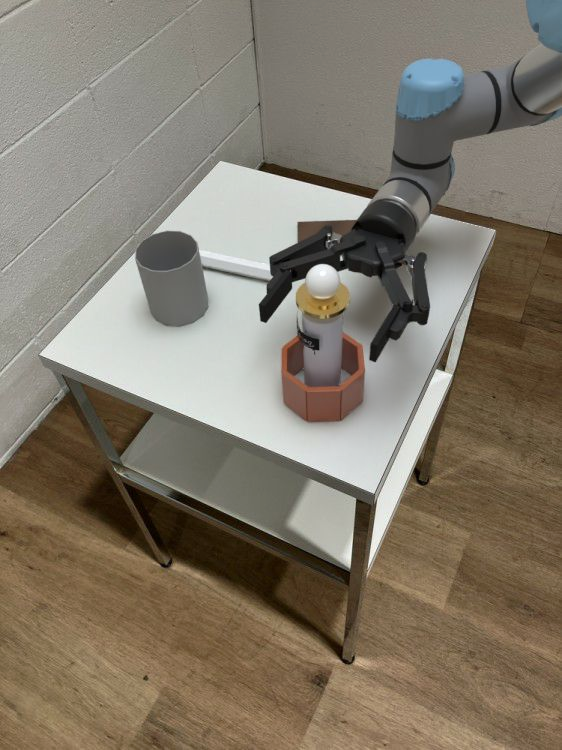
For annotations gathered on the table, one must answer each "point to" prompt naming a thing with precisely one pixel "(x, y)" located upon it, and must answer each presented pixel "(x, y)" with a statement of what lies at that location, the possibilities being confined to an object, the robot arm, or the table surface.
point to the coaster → (314, 227)
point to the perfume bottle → (322, 325)
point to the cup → (172, 277)
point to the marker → (235, 265)
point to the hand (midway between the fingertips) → (315, 333)
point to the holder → (323, 400)
